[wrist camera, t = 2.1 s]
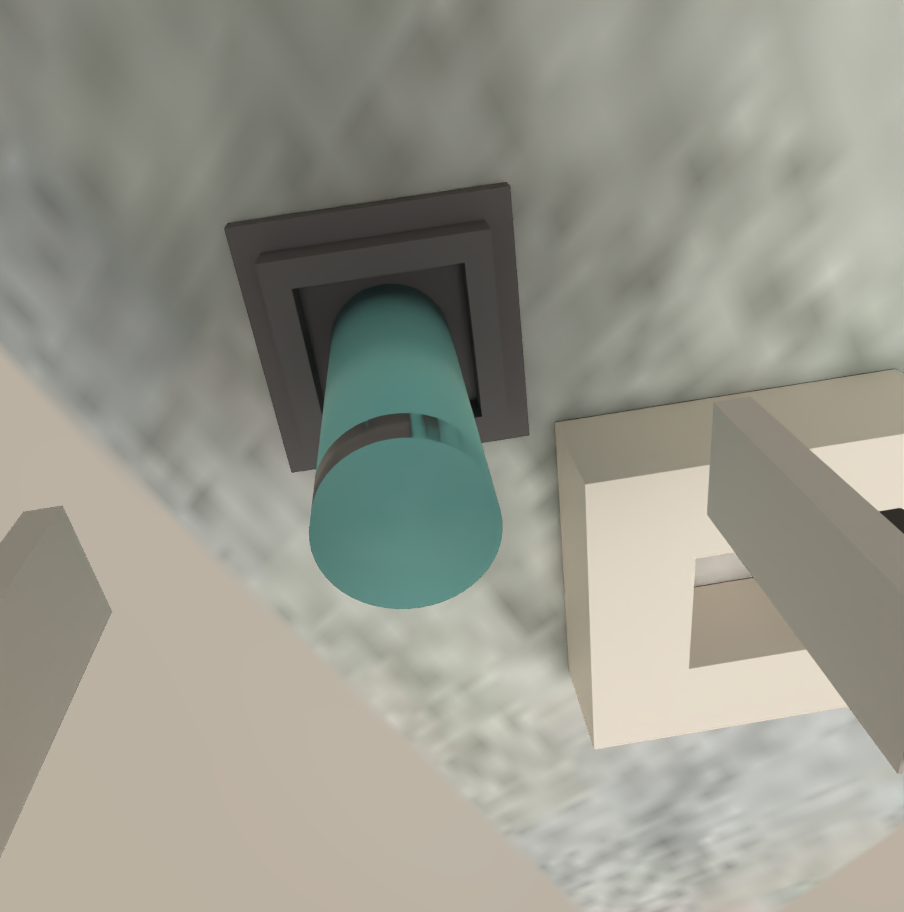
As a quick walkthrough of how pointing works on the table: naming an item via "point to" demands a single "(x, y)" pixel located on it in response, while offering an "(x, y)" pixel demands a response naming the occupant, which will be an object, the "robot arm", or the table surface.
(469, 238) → the grey square socket
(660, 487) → the port
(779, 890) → the table surface
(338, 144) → the table surface
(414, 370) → the plug
